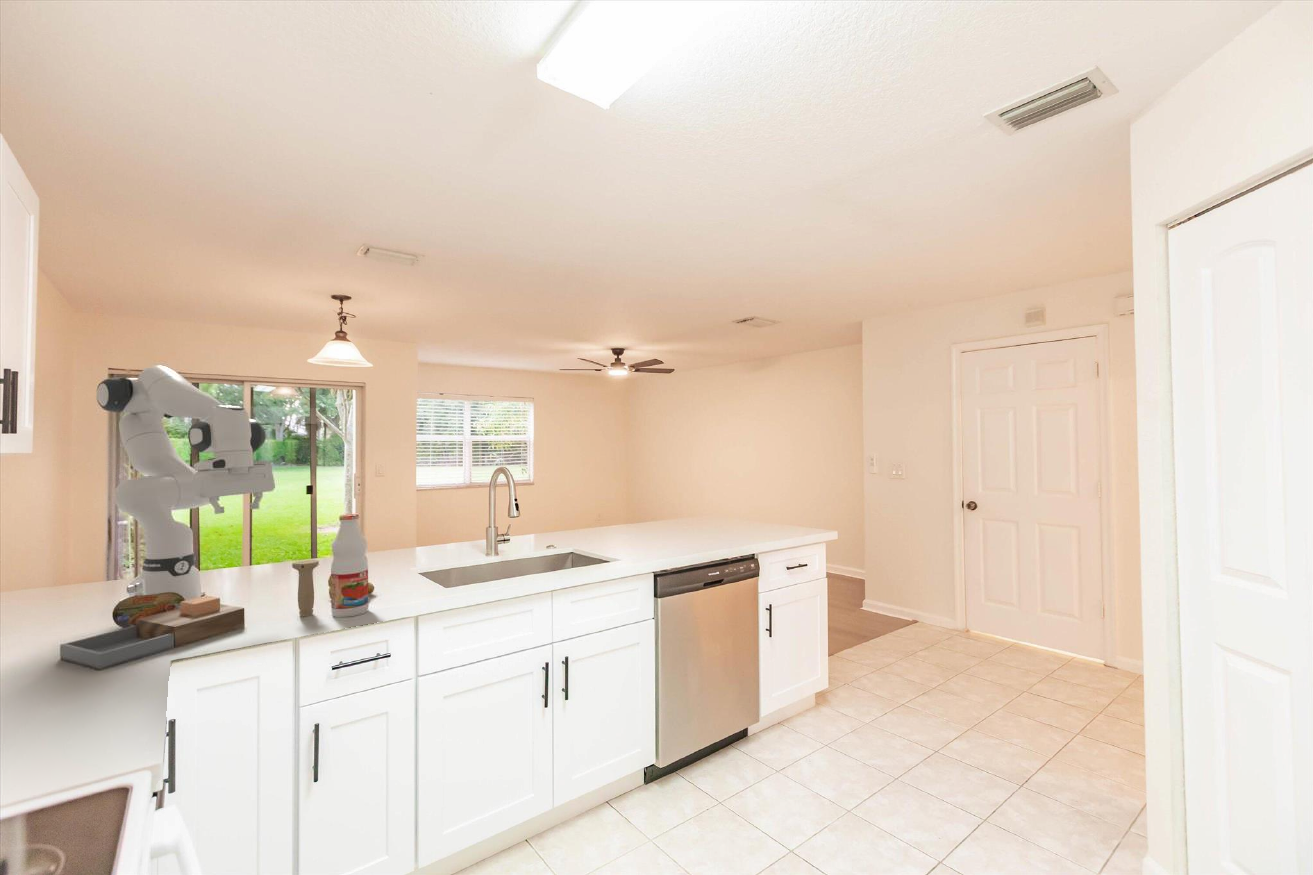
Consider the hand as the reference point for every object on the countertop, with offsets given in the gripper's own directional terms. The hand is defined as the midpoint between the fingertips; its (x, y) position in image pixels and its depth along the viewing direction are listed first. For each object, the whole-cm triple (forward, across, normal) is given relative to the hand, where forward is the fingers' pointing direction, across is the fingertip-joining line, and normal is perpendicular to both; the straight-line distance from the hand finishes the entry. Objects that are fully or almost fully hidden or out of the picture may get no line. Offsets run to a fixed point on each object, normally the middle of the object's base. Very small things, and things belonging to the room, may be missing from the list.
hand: (237, 511), depth 162 cm
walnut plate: (+30, +13, 0) cm, 33 cm away
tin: (+28, +13, -18) cm, 36 cm away
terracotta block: (+25, +11, 0) cm, 27 cm away
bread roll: (+31, -25, +11) cm, 41 cm away
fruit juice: (+32, -14, +24) cm, 42 cm away
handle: (+31, -8, +14) cm, 35 cm away
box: (+30, +29, 0) cm, 41 cm away
